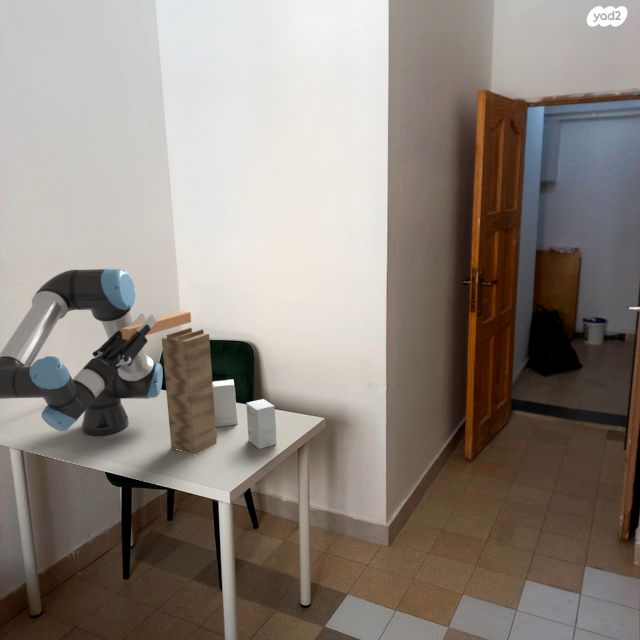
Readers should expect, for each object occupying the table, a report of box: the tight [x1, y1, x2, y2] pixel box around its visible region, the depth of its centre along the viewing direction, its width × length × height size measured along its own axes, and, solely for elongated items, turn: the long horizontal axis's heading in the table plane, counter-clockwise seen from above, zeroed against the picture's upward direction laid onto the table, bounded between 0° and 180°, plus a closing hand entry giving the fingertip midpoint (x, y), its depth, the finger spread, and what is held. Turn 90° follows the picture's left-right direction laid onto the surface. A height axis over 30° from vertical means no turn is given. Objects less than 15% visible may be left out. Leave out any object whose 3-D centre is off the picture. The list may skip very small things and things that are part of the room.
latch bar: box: [121, 311, 192, 340], centre depth 172 cm, size 3×24×3 cm, turn 150°
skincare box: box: [212, 378, 239, 427], centre depth 206 cm, size 8×6×15 cm
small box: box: [246, 398, 277, 450], centre depth 189 cm, size 8×6×13 cm
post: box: [161, 327, 218, 455], centre depth 186 cm, size 10×10×37 cm
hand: (148, 318), depth 168 cm, fingers closed on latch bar, 3 cm apart
